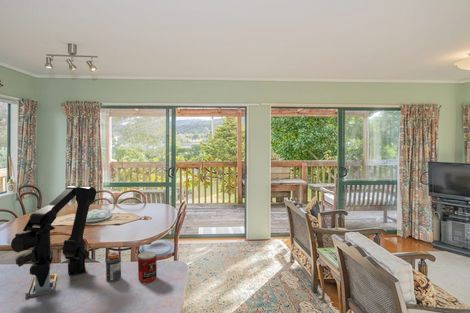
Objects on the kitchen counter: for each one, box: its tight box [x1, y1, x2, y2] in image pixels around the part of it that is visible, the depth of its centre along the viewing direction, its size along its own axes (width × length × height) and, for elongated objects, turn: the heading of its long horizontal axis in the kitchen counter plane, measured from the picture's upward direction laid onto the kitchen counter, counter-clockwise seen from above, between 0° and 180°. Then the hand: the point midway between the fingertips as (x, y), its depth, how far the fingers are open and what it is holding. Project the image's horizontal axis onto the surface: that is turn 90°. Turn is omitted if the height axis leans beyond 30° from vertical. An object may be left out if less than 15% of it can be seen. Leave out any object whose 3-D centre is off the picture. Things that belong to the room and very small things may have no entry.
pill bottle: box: [105, 251, 122, 283], centre depth 126 cm, size 6×6×11 cm
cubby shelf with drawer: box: [25, 273, 58, 299], centre depth 119 cm, size 9×16×2 cm, turn 28°
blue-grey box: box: [34, 270, 51, 293], centre depth 116 cm, size 4×4×8 cm
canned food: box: [137, 250, 158, 284], centre depth 126 cm, size 8×8×11 cm
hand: (43, 281), depth 116 cm, fingers open, 9 cm apart
